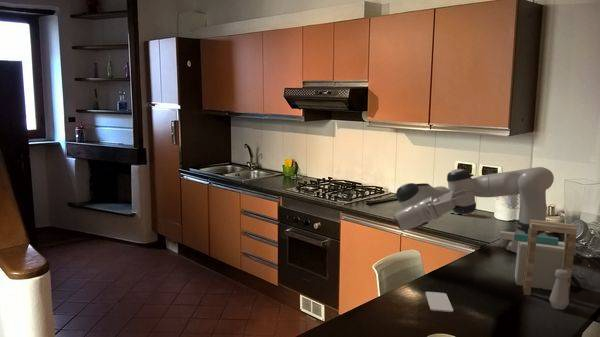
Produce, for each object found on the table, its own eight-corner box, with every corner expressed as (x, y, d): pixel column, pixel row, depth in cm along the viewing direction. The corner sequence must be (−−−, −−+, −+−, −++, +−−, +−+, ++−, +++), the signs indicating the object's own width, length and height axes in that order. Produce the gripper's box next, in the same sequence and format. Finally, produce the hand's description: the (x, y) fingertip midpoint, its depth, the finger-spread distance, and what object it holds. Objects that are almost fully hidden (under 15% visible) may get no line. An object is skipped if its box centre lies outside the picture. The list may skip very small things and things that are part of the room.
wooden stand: (522, 287, 181) (530, 219, 177) (564, 293, 176) (573, 224, 173) (524, 294, 175) (531, 223, 171) (568, 301, 170) (577, 228, 166)
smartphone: (446, 293, 173) (453, 311, 158) (446, 295, 173) (453, 313, 158) (425, 291, 174) (430, 308, 159) (424, 293, 174) (430, 311, 159)
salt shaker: (551, 302, 169) (555, 266, 167) (569, 307, 165) (574, 270, 163) (546, 307, 164) (551, 270, 162) (565, 312, 161) (570, 274, 159)
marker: (499, 236, 189) (500, 230, 189) (557, 243, 183) (557, 237, 182) (499, 238, 187) (500, 232, 187) (558, 245, 180) (558, 239, 180)
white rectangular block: (514, 275, 193) (518, 236, 191) (559, 282, 188) (564, 242, 185) (516, 284, 184) (520, 243, 181) (564, 291, 178) (569, 249, 176)
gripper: (438, 209, 205) (469, 196, 200) (433, 220, 186) (468, 206, 181) (431, 196, 205) (462, 182, 200) (426, 206, 186) (461, 191, 181)
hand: (465, 194), depth 190 cm, fingers open, 8 cm apart
